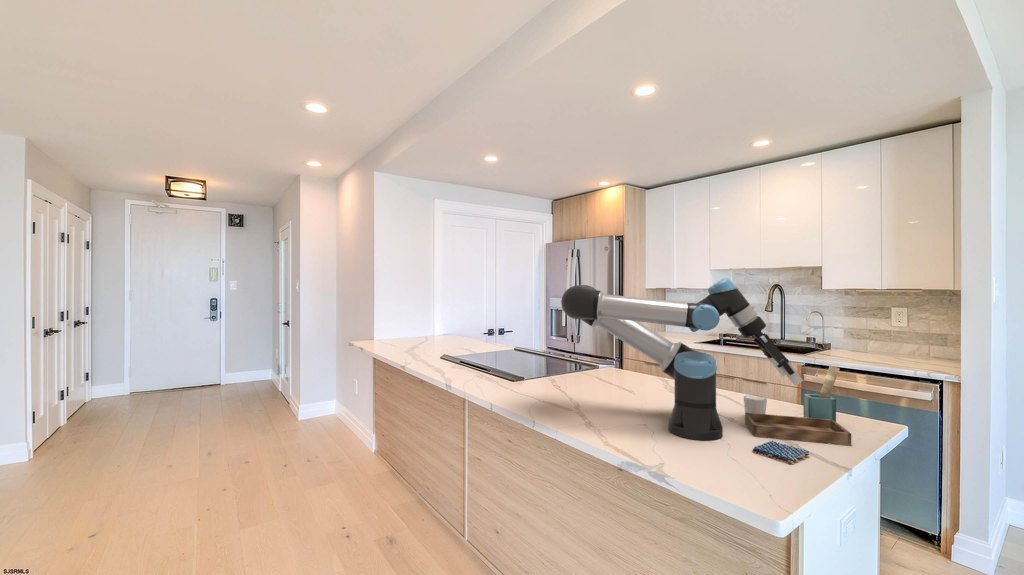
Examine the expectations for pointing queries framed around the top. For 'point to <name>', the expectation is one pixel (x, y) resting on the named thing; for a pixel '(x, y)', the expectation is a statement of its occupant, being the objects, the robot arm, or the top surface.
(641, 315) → the robot arm
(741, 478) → the top surface
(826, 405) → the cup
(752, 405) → the shot glass
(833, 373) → the dowel
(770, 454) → the woven mat
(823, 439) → the tray
